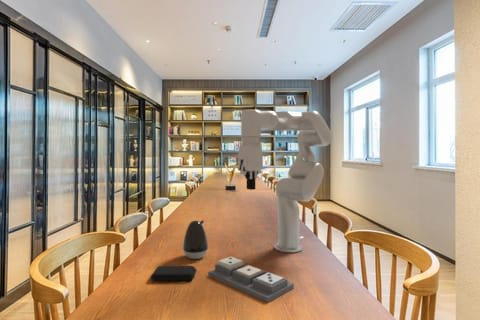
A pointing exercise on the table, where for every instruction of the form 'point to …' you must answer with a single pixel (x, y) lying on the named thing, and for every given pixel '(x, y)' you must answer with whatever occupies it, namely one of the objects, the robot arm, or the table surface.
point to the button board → (250, 283)
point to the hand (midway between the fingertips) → (250, 189)
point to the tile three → (270, 279)
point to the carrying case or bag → (173, 274)
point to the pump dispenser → (195, 241)
